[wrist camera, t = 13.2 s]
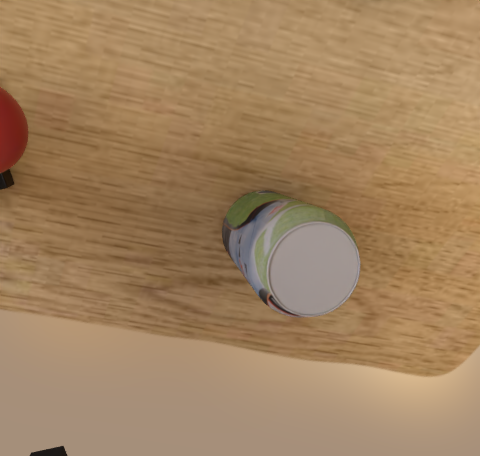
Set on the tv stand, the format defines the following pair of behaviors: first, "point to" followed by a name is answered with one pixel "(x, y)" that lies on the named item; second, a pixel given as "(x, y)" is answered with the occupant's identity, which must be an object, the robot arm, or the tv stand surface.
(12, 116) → the lever
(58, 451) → the robot arm
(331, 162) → the tv stand surface
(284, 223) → the beverage can
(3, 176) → the bracket
